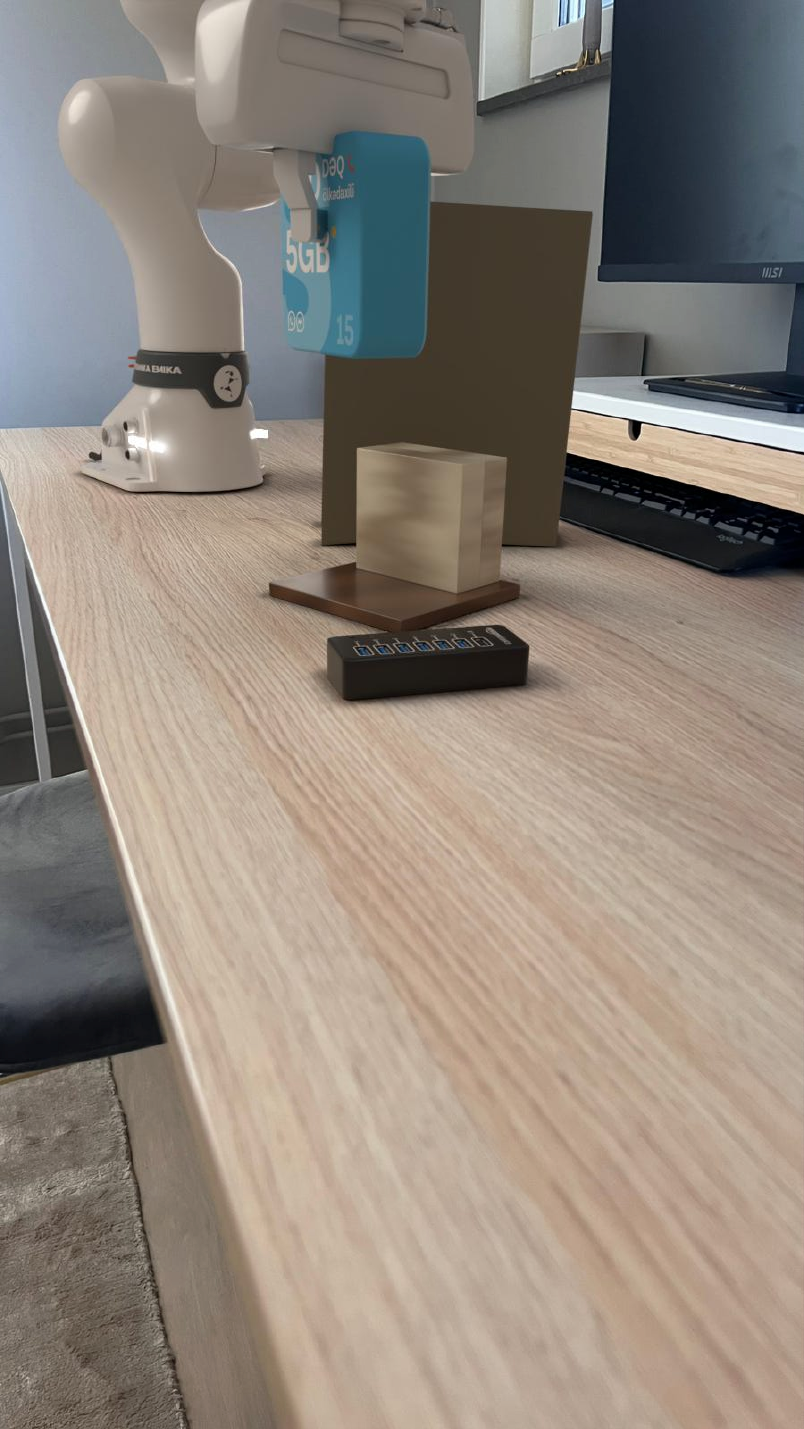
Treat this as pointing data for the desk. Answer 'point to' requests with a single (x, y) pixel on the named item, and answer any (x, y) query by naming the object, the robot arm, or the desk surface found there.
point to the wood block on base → (416, 541)
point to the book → (475, 365)
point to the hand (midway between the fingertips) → (349, 245)
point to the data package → (363, 252)
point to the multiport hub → (426, 661)
